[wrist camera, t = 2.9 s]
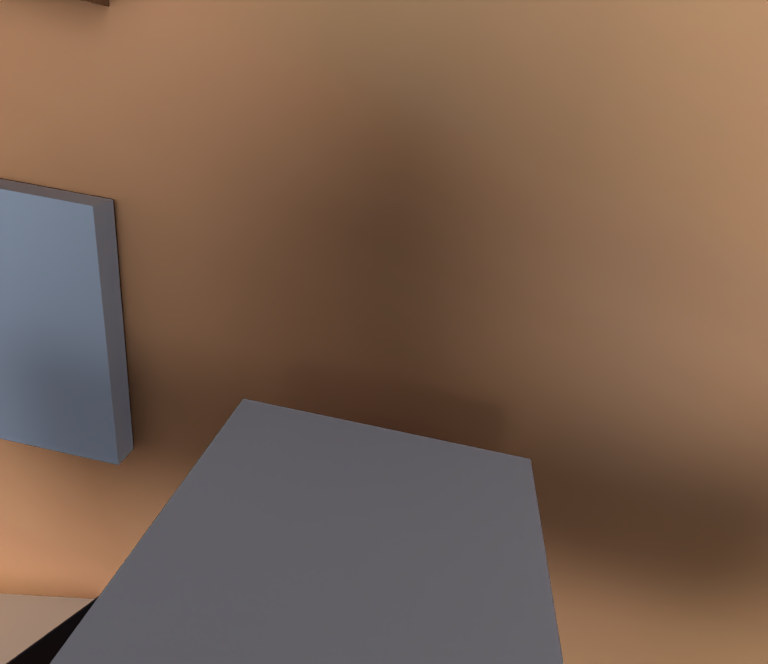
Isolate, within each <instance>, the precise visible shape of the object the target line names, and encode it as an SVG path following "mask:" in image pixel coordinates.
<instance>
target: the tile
mask: <svg viewBox="0 0 768 664" xmlns="http://www.w3.org/2000/svg"><path fill="white" fill-rule="evenodd" d="M0 439H4V440H9V441H13V442H18V443H22V444H27V445H31V446H36V447H40V448H45V449H49V450H54V451H58V452H62V453H67V454H71V455H76V456H80V457H85V458H89V459H94V460H98V461H103V462H107V463H112V464H116V465H119V464H120V463H121V462H122V461H123V460H124V459H125V458H126V457H127V455H128V454H129V453H130V452H131V451H132V450H133V449H134V448H133V436H132V424H131V412H130V400H129V387H128V375H127V363H126V351H125V339H124V327H123V315H122V303H121V290H120V278H119V266H118V254H117V242H116V230H115V218H114V206H113V200H112V199H107V198H102V197H96V196H91V195H86V194H80V193H75V192H70V191H64V190H59V189H53V188H48V187H43V186H37V185H32V184H27V183H21V182H16V181H11V180H5V179H0Z"/></svg>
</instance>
